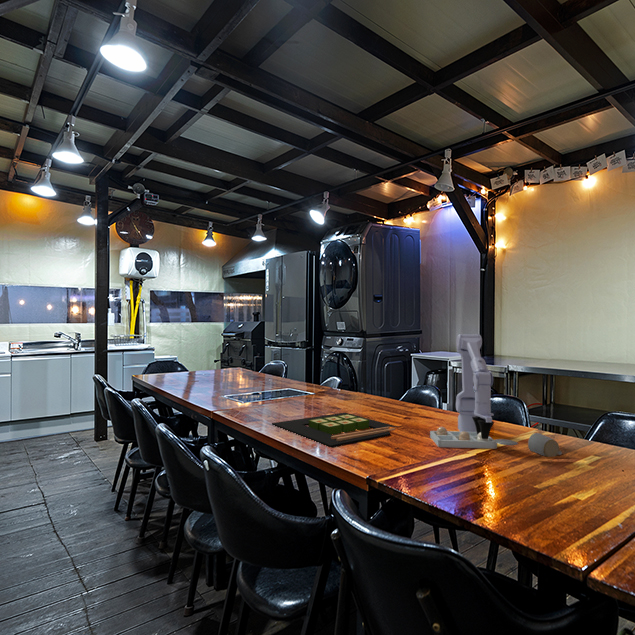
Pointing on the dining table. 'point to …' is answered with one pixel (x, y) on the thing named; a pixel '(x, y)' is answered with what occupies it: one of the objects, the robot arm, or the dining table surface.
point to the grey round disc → (506, 442)
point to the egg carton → (454, 441)
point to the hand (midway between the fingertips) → (482, 437)
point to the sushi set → (337, 428)
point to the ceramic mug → (543, 445)
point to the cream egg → (480, 437)
